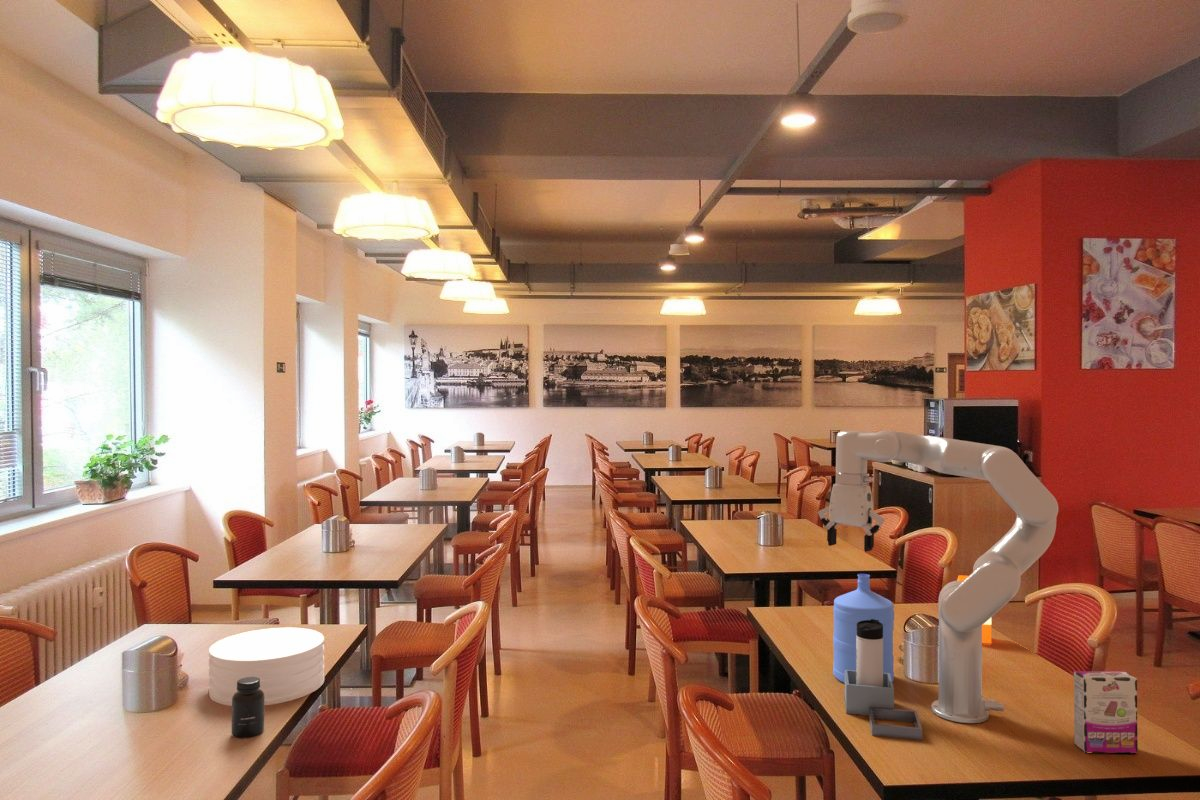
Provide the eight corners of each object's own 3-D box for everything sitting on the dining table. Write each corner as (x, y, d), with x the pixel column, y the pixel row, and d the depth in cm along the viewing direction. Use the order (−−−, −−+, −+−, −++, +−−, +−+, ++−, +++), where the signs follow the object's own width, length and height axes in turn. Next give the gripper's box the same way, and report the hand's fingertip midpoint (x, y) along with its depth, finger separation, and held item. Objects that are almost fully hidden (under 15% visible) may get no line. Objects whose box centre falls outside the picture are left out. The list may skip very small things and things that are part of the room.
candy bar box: (1124, 744, 178) (1125, 670, 178) (1138, 755, 173) (1139, 678, 173) (1072, 743, 179) (1072, 669, 179) (1084, 754, 174) (1085, 677, 174)
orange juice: (953, 635, 258) (954, 572, 257) (983, 636, 256) (983, 573, 256) (961, 643, 250) (961, 578, 249) (991, 644, 249) (992, 579, 248)
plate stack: (204, 713, 196) (203, 666, 196) (213, 675, 222) (213, 633, 222) (326, 698, 206) (326, 652, 206) (322, 663, 232) (321, 623, 232)
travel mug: (887, 702, 200) (888, 621, 199) (876, 710, 195) (876, 627, 194) (863, 696, 204) (863, 616, 203) (851, 704, 199) (852, 622, 199)
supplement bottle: (243, 741, 180) (243, 687, 180) (225, 734, 183) (224, 681, 183) (270, 730, 186) (270, 678, 185) (252, 724, 189) (252, 672, 189)
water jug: (874, 693, 208) (875, 584, 208) (821, 677, 220) (821, 574, 220) (905, 679, 219) (905, 575, 218) (853, 664, 230) (853, 566, 230)
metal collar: (916, 721, 191) (916, 711, 191) (922, 740, 181) (922, 729, 181) (868, 717, 193) (868, 706, 193) (872, 735, 183) (872, 724, 183)
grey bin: (889, 701, 203) (889, 673, 203) (893, 718, 193) (894, 688, 193) (844, 697, 206) (844, 669, 206) (846, 713, 196) (846, 684, 195)
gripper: (891, 481, 201) (889, 550, 201) (826, 475, 213) (825, 541, 213) (877, 484, 196) (876, 555, 196) (812, 478, 207) (811, 544, 208)
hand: (849, 547), depth 205 cm, fingers open, 9 cm apart
